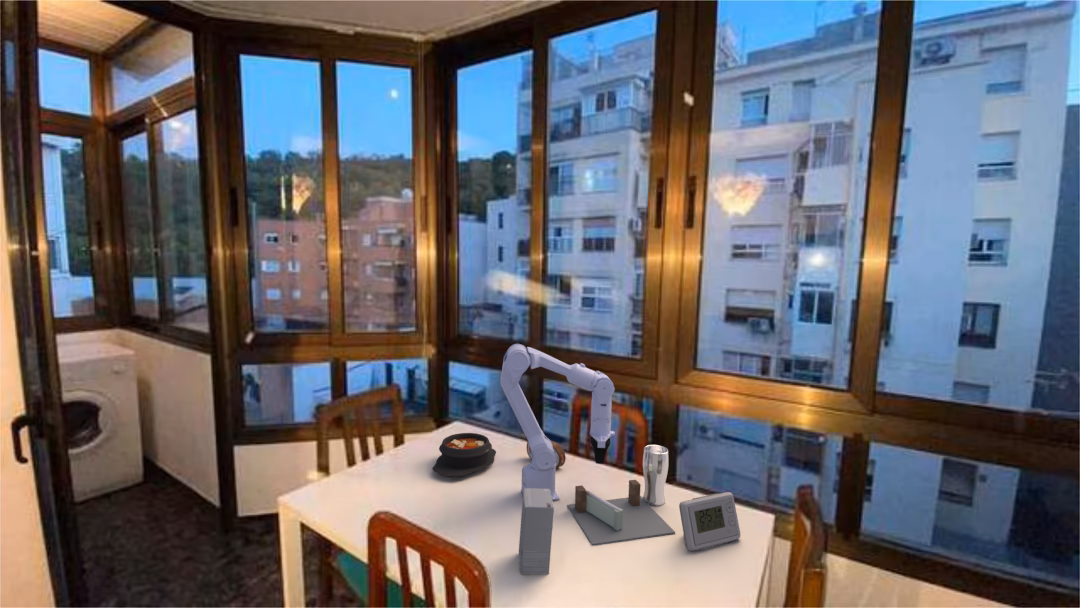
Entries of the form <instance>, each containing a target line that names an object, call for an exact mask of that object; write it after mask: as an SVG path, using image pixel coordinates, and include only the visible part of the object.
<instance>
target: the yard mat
mask: <svg viewBox="0 0 1080 608" xmlns="http://www.w3.org/2000/svg"><path fill="white" fill-rule="evenodd" d="M604 500H605V501H607V502H609V503H611V504H613V505H614V506H616V507H618V508H621V509H623V528H622V529H620V530H615V529H613V528H614V527H612V526H610V525H609V524H607V523H606V522H604V521H602V520H601V519H599V518H597V517H596V516H594V515H593V514H591V513H589V512H588V511H586V512H585V513H578V512H577V510H576V509H575V503H572V504H570V503H569V504H567V506H566V507H567V508H568V510H569V511H570V512H571V514H572V516H573V518H574V519H575V520H576V522H577V524H578V525H579V526H580V529H581V530H582V532H583V534H584V535H585V536H586V538H587V539H588V541H589V542H590V544H591V546H593V547H594V546H598V545H599V546H600V545H606V544H607V545H608V544H612V543H620V542H627V541H634V540H640V539H646V538H655V537H662V536H667V535H668V536H669V535H675V534H676V531H675V530H674V529H673V528H671V526H670V525H669V524H668V523H667V522H666V521H665V520H664V519H663V518H662V516H660V515H659V513H657V512H656V511H655V510H654V508H652V506H651V505H650V504H648V503H647V502H646V501H645V500H644V499H643V497H642V496H641V495H640V506H632V505H631V504H630V503H629V501H628V497H621V498H620V497H619V498H613V499H604Z"/></svg>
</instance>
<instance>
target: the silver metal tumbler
mask: <svg viewBox="0 0 1080 608" xmlns="http://www.w3.org/2000/svg"><path fill="white" fill-rule="evenodd" d="M668 471H669V449H668V448H667V447H665V446H662V445H658V444H648V445H646V446H644V448H643V456H642V472H643V480H644V492H643V497H642V498H643V499H644V500H645V501H646V502H647V503H648V504H649V506H659V507H660V506H662V505H664V504H665V502H666V496H665V485H666V481H667V476H668Z"/></svg>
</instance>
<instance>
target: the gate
mask: <svg viewBox="0 0 1080 608" xmlns="http://www.w3.org/2000/svg"><path fill="white" fill-rule="evenodd" d="M605 500H606V499H603V498H602V497H600V496H598V495H596V494H595V493H593V492H591V491H590V490H586V511H588V512H589V513H591V514H593V515H594V516H596V517H597V518H599V519H601V520H602V521H604V522H606V523H607V524H609V525H610V526H612V527H614V528H613V529H615V530H620V529H622V528H623V509H621V508H618V507H616V506H614V505H613V504H611V503H609V502H607V501H605Z"/></svg>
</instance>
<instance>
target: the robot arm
mask: <svg viewBox="0 0 1080 608" xmlns="http://www.w3.org/2000/svg"><path fill="white" fill-rule="evenodd" d="M540 367H541V368H544V369H546V370H549V371H551V372H554V373H557V374H560V375H562V376H565V377H566V380H567V382H568V383H570V384H572V385H574V386H577V387H579V388H581V389H584V390H586V391H591V402H590V403H591V404H590V405H591V406H590V410H591V411H590V430H589V435H590V438H589V439H590V443H591V447H592V450H593V452H594V453H593V454H594V455H593V456H594V461H595V464H597V465H603V464H604V463H605V459H606V454H607V451H608V448H609V447H610V445H611V437H614V436H615V434H616V433H615V431H614V430H611V429H612V428H611V427H612V403H613V402H612V401H613V400H612V397H613V394H614V393H615V390H616V388H615V385H614V382H613V381H612V380H611V379H610V378H609V376H608V375H606V374H605V373H604V372H602V371H600V370H596V371H595V370H593V369H590V368H588V367H586V365H585V364H584V363H582V362H580V364H579V363H577V362H576V363H574V364H568V363H566V362H563V361H561V360H559V359H557V358H555V357H553V356H552V355H549V354H547V353H545V352H543V351H541V350H538V349H536V348H533V347H530V346H527V347H526V346H525V345H523V344H520V343H514V344H512V345H511V346H509V348H508V349H507V351H506V352H505V353H504V356H503V362H502V369H501V374H500V379H499V380H500V387H501V388H502V390H503V393H504V395H505V397H506V399H507V402H508V403H509V405H510V407H511V409H512V411H513V413H514V415H515V417H516V420H517V422H518V424H520V427H521V429H522V431H523V433H524V435H525V438H526V439H527V442H529V445H530V448H531V450H532V452H533V459H532V460H531V461H530V464H528V465H525V466H522V468H521V489H520V492H521V494H522V495H523V489H524V488H537V489H550V491H551V496H552V497H553V499H552V501H559V500H560V499H561V498H560V496H559V494H558V493H557V492H556V471H557V469H556V463H555V462H556V455H555V453H554V450H553V445H552V442H551V441H552V440H551V439H549V437H547V436H546V435H545V433H544V431H543V430H542V428H541V427H540V425H539V422H538V420H537V419H536V416H535V414H534V412H533V409H532V408H531V406H530V405H529V404H530V403H529V402H528V400H527V398H526V396H525V394H524V392H523V390H522V387H521V386H520V380H521V377H522V375H523V374H524V373H525V372H526V371H527V369H528V368H530V370H533V369H536V368H540Z"/></svg>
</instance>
